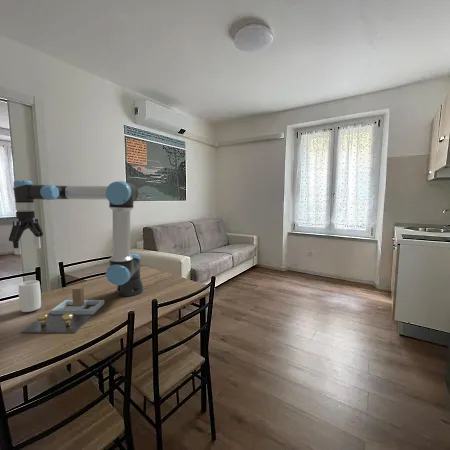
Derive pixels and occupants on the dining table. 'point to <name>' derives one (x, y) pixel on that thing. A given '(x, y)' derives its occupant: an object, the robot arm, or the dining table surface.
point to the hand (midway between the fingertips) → (28, 251)
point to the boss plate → (57, 323)
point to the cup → (29, 295)
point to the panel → (77, 308)
